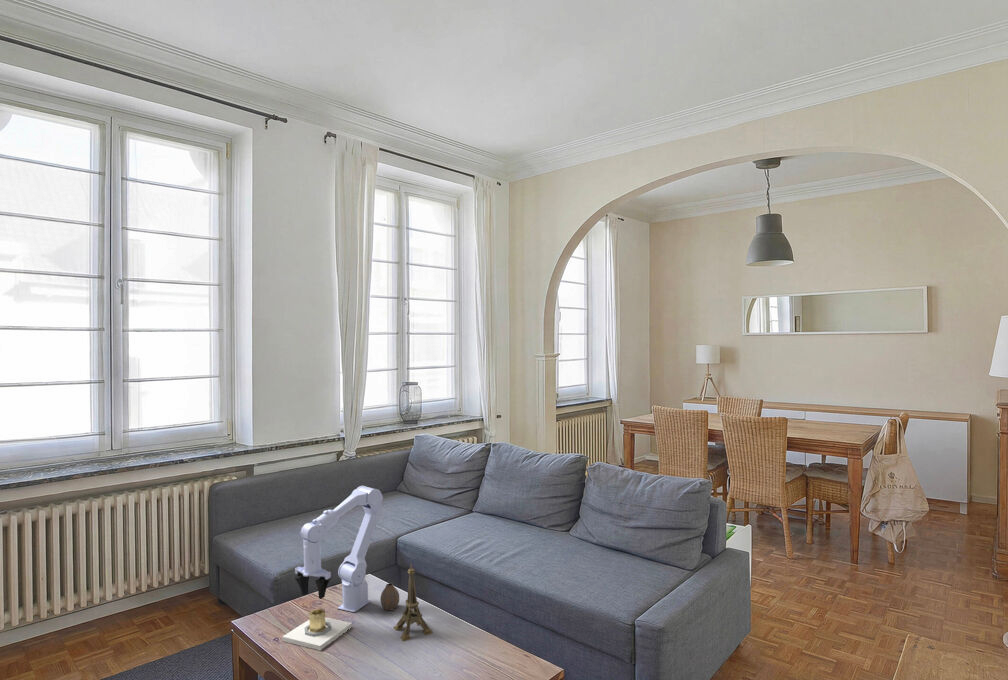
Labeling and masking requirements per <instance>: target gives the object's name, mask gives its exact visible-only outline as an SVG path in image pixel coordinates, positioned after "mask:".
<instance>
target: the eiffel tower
mask: <svg viewBox="0 0 1008 680" xmlns="http://www.w3.org/2000/svg"><path fill="white" fill-rule="evenodd" d="M407 569H408V568H407ZM415 571H416V570H415V569H414V568H413V564H410V568H409V569H408V570H407V573H408V588H407V598H406V600H405V604H406V605H405V609H404V612H402V616H401V617H400V618H399V620H398V621H397V622H396V624H395V626H393V629H394V630H395V631H396V632H397V631H400V630H403V631H402V634H401V636H400V640H401V641H402V642H406V641H409V640H410V641H411V639H412V638H411V636H410V635H411V634H410V631H411V625H413V624H416V625H417V626H421V628H422V633H423V634H424V636H428V635H431V634H434V632H433V631H432V629H431V628H430V627H429V626H428V624H427V622H426V621H425V620H424V619H423V614H422V613H421V612H420V608H419V605H420V602H419V601H418V599H417V598H418V597H417V591H416V585H415V584H416V583H415V582H416V581H415V576H414V574H416V572H415ZM405 624H406V625H405ZM404 626H405V628H404Z"/></svg>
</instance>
